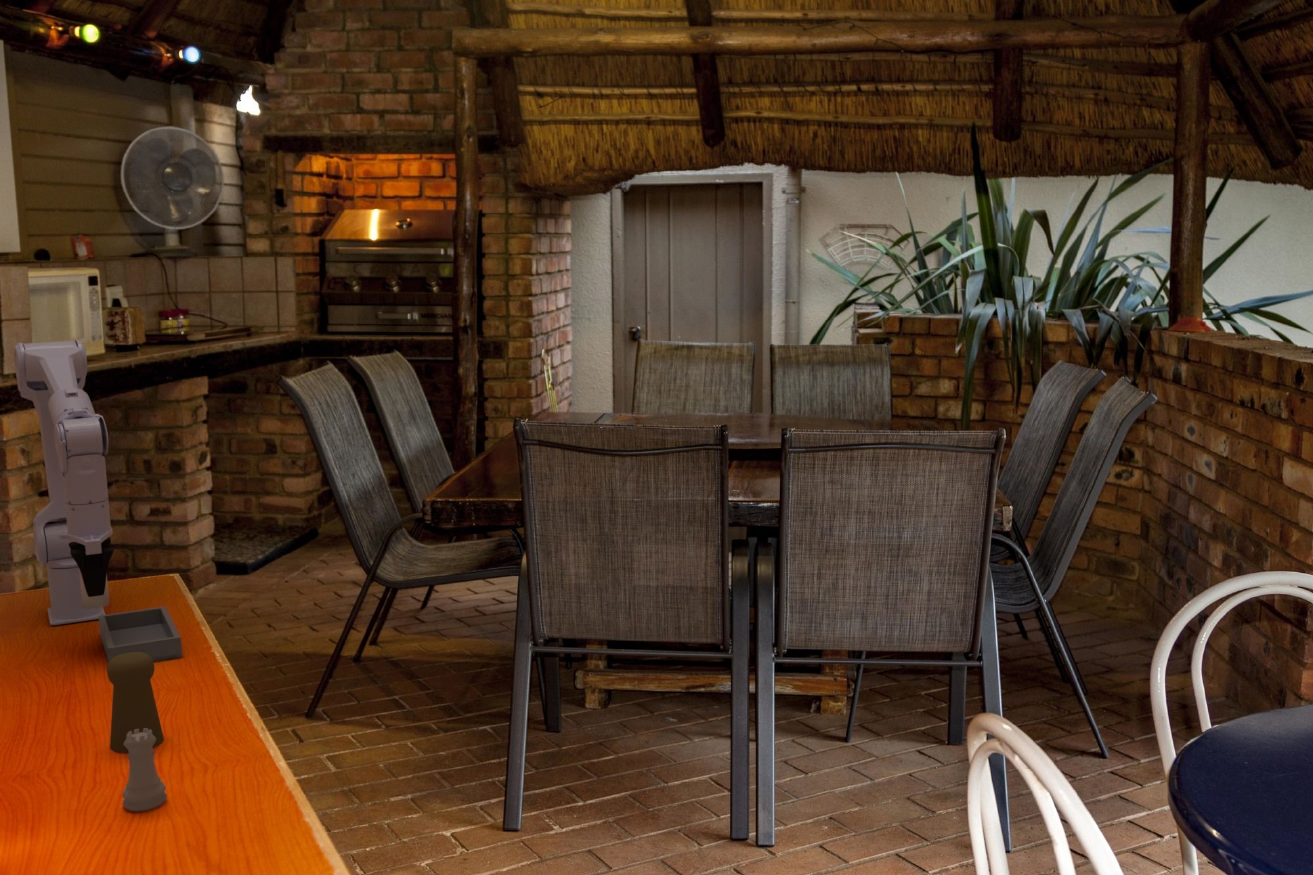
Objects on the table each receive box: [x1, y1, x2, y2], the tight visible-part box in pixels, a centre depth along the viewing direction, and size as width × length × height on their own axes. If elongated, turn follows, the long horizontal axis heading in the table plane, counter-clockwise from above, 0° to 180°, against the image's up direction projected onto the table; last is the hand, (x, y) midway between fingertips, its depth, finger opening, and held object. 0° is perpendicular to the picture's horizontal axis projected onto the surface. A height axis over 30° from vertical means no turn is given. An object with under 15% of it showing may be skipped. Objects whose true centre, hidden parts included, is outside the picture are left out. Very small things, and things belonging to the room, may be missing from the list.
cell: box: [79, 569, 110, 609], centre depth 182 cm, size 4×4×7 cm
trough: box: [98, 606, 183, 664], centre depth 186 cm, size 18×10×3 cm, turn 28°
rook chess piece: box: [121, 728, 168, 813], centre depth 133 cm, size 4×4×8 cm
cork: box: [106, 652, 165, 755], centre depth 149 cm, size 6×6×11 cm
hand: (95, 592), depth 182 cm, fingers closed on cell, 4 cm apart
